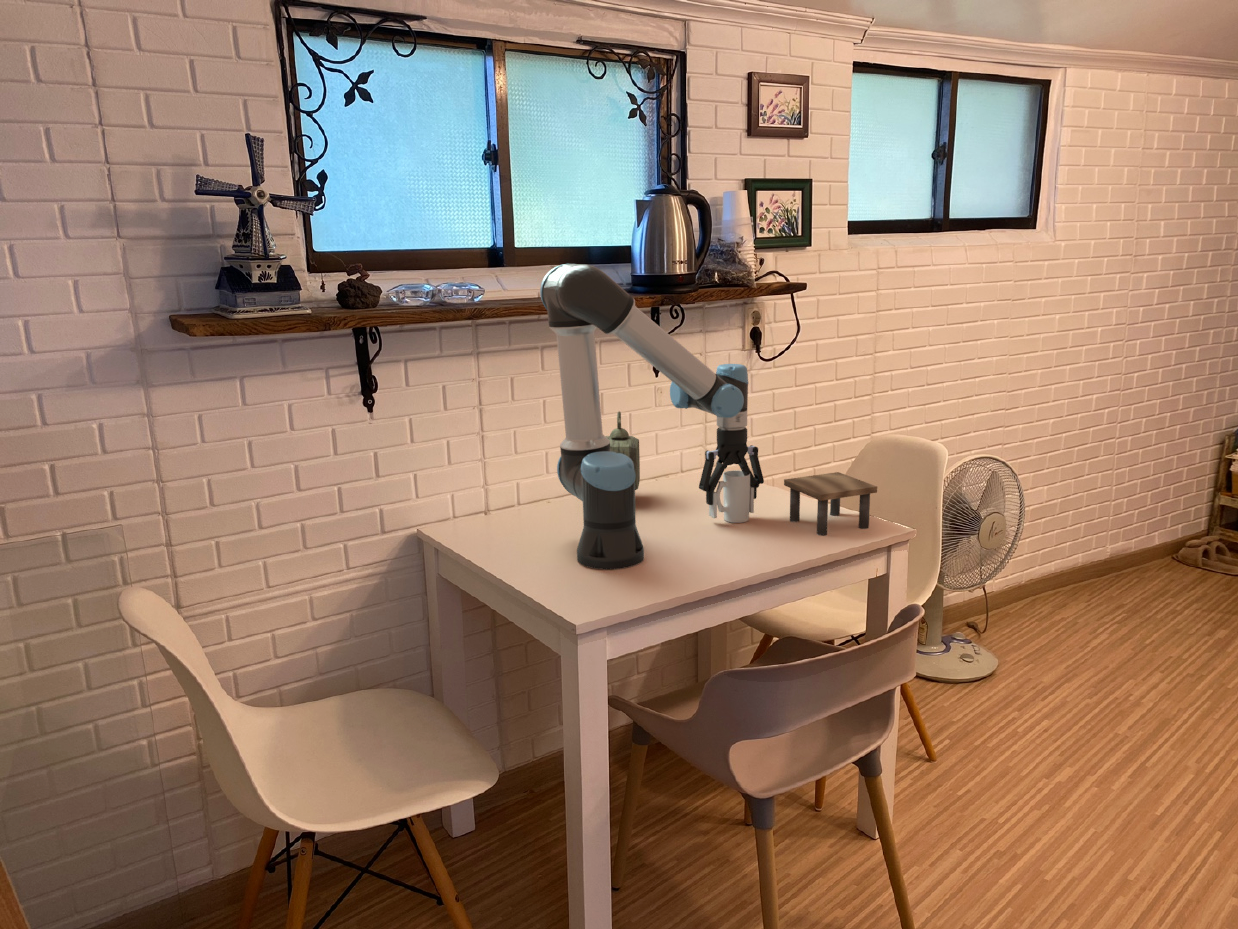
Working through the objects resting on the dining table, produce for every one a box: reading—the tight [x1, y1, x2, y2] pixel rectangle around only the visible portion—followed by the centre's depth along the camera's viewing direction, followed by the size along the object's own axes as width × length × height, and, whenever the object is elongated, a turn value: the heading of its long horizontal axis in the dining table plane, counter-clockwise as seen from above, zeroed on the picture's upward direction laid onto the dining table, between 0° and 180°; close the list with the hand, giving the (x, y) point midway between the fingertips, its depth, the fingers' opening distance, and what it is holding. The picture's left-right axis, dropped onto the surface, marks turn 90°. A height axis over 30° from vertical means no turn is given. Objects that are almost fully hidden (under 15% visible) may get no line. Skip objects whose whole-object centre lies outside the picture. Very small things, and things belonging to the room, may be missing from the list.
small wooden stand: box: [783, 471, 878, 537], centre depth 227 cm, size 16×16×10 cm
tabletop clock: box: [604, 411, 641, 491], centre depth 250 cm, size 14×9×25 cm, turn 175°
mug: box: [715, 469, 750, 524], centre depth 231 cm, size 10×7×12 cm, turn 123°
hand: (731, 514), depth 232 cm, fingers closed on mug, 10 cm apart
